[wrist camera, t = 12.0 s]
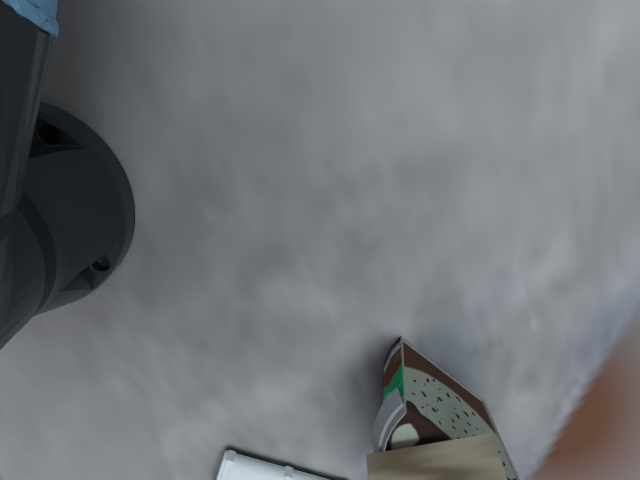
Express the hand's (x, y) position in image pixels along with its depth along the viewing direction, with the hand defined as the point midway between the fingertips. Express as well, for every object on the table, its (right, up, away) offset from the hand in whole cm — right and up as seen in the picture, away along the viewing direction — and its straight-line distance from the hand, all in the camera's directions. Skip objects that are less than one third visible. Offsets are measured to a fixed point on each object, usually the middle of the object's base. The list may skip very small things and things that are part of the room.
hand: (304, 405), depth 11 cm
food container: (+8, -9, +36) cm, 38 cm away
